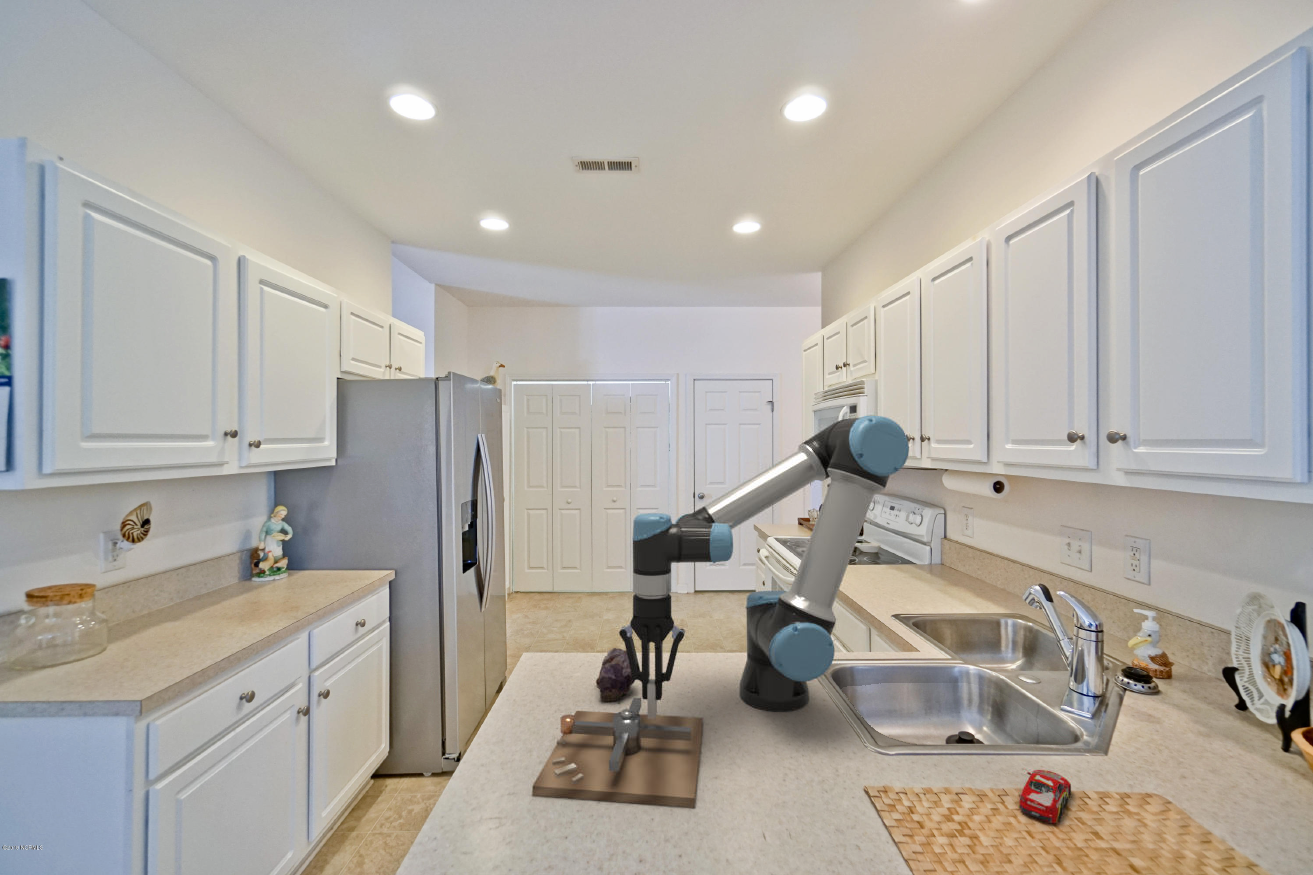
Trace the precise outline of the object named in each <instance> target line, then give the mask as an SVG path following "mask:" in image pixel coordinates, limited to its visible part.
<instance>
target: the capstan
mask: <svg viewBox="0 0 1313 875" xmlns="http://www.w3.org/2000/svg"><path fill="white" fill-rule="evenodd" d="M641 709H642V697H632V700H631V703H630V705H629V708H627V709H626V708H625V709H622V710H621V711H619V712H615V713H616V714H615V715H614V716H613V723H610V722H593V721H576V720H575V716H574V715H573V714H563V715H562V716H561V717H560V733H561V735H563V734H564V735H569V734H587V735H603V736H613V751H612V754H611V756H610V759H609V771H619V769H620V766H621V763H622V761H623V758H624V756H629V755H634V754H636V753H638V752H639V751H640V750H641V738H652V739H668V740H684V741H691V727H679V726H661V725H644V724H641V716H640V714H641V713H640V711H641Z"/></svg>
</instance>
